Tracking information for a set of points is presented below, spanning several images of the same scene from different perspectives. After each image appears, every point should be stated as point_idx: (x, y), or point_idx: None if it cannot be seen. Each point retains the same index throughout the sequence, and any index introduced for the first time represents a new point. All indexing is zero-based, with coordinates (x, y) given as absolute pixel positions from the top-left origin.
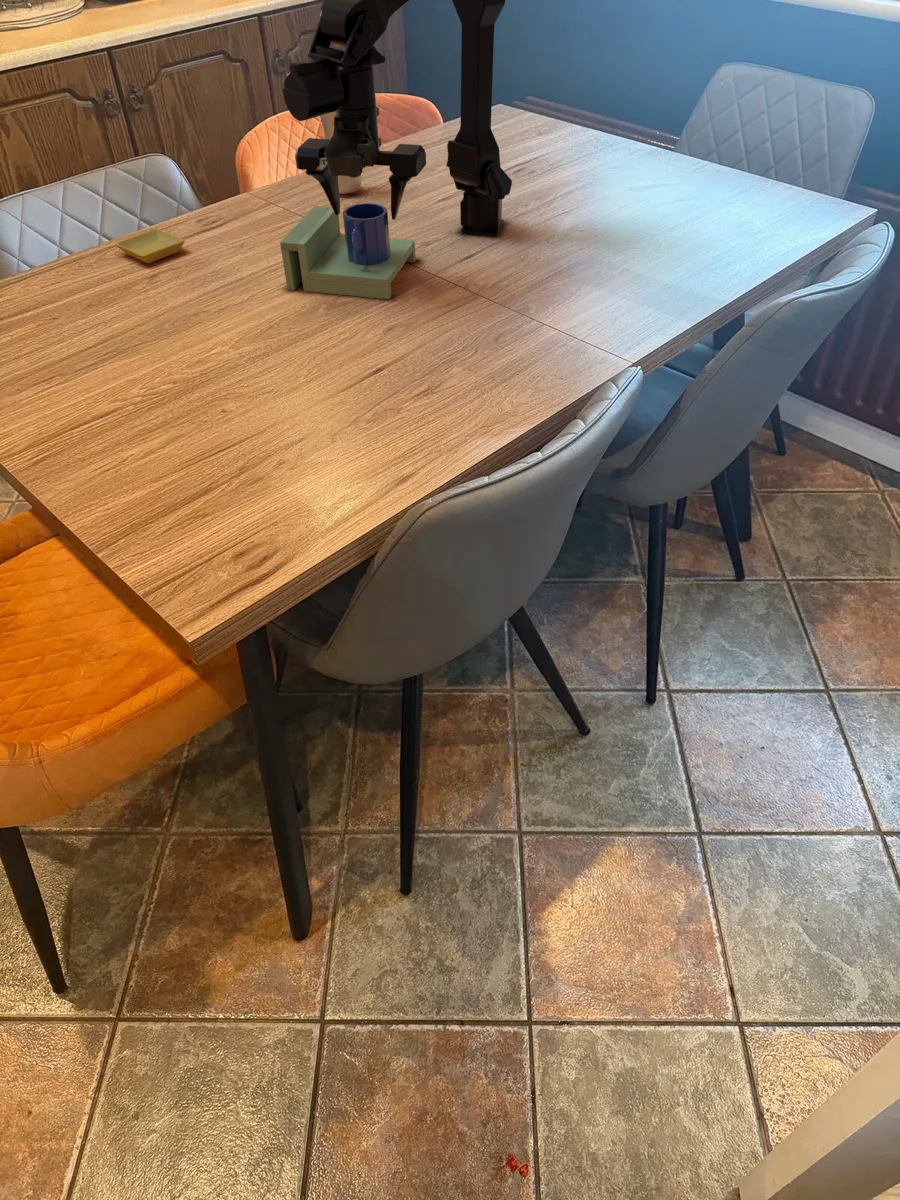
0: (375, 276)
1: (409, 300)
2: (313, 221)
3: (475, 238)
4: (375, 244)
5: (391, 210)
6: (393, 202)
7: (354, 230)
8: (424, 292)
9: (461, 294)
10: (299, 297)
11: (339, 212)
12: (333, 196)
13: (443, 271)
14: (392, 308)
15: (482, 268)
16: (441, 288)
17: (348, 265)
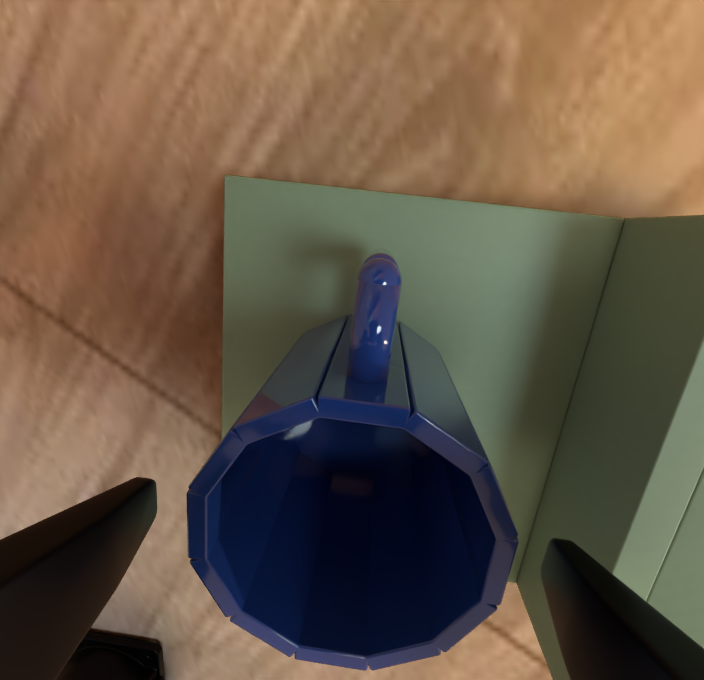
0: (287, 202)
1: (180, 188)
2: (691, 554)
3: (116, 618)
4: (290, 356)
5: (104, 514)
6: (12, 556)
7: (379, 294)
8: (148, 260)
9: (23, 257)
10: (620, 163)
11: (544, 567)
12: (664, 676)
13: (136, 418)
14: (223, 108)
15: (29, 444)
16: (102, 296)
17: (435, 307)
